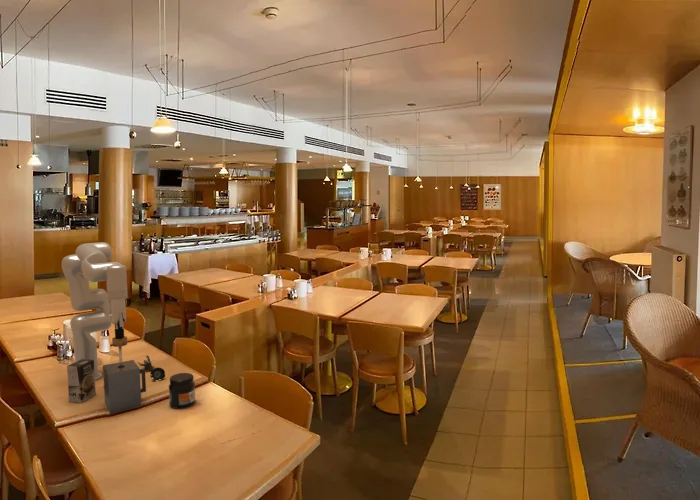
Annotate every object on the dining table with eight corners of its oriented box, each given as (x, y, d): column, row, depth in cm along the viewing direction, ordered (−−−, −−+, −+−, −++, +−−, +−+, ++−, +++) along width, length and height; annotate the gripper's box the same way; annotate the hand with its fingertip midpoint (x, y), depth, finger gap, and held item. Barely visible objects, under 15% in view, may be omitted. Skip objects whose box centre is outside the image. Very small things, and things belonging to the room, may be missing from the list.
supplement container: (198, 405, 209) (197, 378, 208) (172, 411, 204) (171, 383, 202) (192, 396, 218) (191, 370, 217) (167, 401, 213) (166, 375, 211)
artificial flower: (148, 386, 233) (141, 367, 231) (141, 376, 252) (134, 358, 251) (167, 377, 237) (160, 358, 236) (159, 368, 257) (152, 350, 255)
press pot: (104, 403, 211) (102, 365, 209) (142, 395, 220) (141, 358, 217) (110, 413, 201) (107, 374, 199) (149, 404, 210) (147, 366, 208)
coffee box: (81, 403, 211) (79, 366, 209) (68, 401, 212) (66, 365, 210) (96, 394, 220) (94, 359, 218) (83, 393, 221) (81, 358, 219)
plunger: (106, 379, 209) (104, 337, 207) (131, 374, 215) (129, 333, 213) (111, 387, 201) (108, 343, 199) (136, 381, 207) (134, 339, 205)
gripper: (104, 292, 207) (106, 335, 210) (110, 299, 195) (113, 344, 198) (123, 290, 212) (125, 332, 214) (131, 296, 200) (133, 341, 202)
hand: (119, 337), depth 206 cm, fingers closed
